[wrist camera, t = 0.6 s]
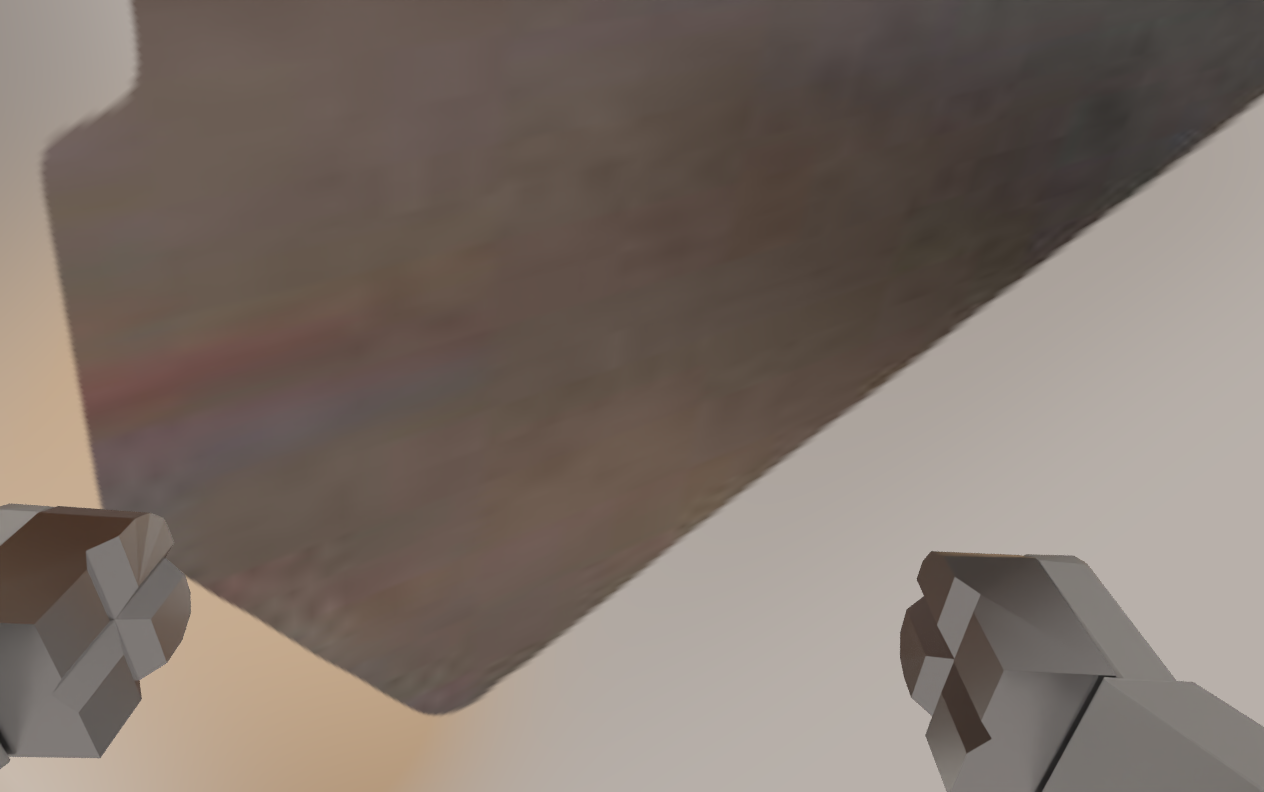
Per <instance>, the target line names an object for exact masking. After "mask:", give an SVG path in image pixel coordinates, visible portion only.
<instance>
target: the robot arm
mask: <svg viewBox="0 0 1264 792" xmlns="http://www.w3.org/2000/svg"><path fill="white" fill-rule="evenodd" d="M173 544H174V541H173V538H172V536H171V533H170V531H169V528H168V526H167V523H166V521H165V519H164V518H162V517H159V516H157V515H154V514H152V513H146V512H132V511H118V510H105V509H91V508H76V507H63V506H57V507H49V506H37V505H23V504H7V505H3V506H0V769H1V768H2V767H3V766H5V765H6V764H8V763H9V761H10V759H9V757H63V758H64V757H65V758H101V756H102V755H103V753H104V752H105V751H106V749H107V748H108V746H109V745H110V743H111V742H112V741H113V739H114V738H115V736H116V735H117V733H118V732H119V731H120V729H121V728H122V726H123V725H124V724H125V722H126V721H127V719H128V718H129V717H130V715H131V714H132V712H133V711H134V709H135V708H136V707H137V705H138V704H139V702H140V701H141V699H142V698H141V690H140V681H139V680H140V679H142V678H143V677H145V676H147V675H148V674H150V673H152V672H153V671H155V670H156V669H158V668H160V667H161V666H163V665H164V664H166V663H167V662H168V661H169V659H170V658H171V656H172V655H173V653H174V651H175V650H176V649H177V647H178V646H179V644H180V643H181V641H182V639H183V636H184V633H185V630H186V626H187V623H188V620H189V617H190V613H191V601H190V589H189V586H188V583H187V580H186V577H185V574H184V573H182V572H181V571H180V570H179V569H178V568H176V567H175V566H174V565H173V564H172V563H171V562H169V561H168V560H167V559H166V558H165V557H166V556H167V554H168V552H169V551H170V549H171V548H172V546H173ZM917 581H918V583H919V585H920V588H921V590H922V592H923V594H924V597H922V598H921V599H920V600H918V601H917V602H916V603H914V604H913V605H912V606H911V607H909V608H908V609H907V610H906V614H905V618H904V621H903V625H902V628H901V632H900V659H901V664H902V669H903V674H904V678H905V681H906V684H907V687H908V690H909V692H910V695H911V698H912V699H914V700H915V701H916V702H917V703H918V704H919V705H920V706H921V707H923V708H924V709H925V710H926V711H927V712H928V713H929V714H930V715H931V716H932V719H931V721H930V724H929V727H928V730H927V732H926V738H927V741H928V744H929V746H930V749H931V751H932V754H933V757H934V759H935V762H936V765H937V767H938V770H939V772H940V775H941V778H942V780H943V783H944V786H945V788H946V791H947V792H1264V727H1263V726H1261V725H1260V724H1258V723H1257V722H1255V721H1254V720H1252V719H1250V718H1249V717H1247V716H1246V715H1244V714H1243V713H1241V712H1239V711H1238V710H1236V709H1235V708H1233V707H1232V706H1230V705H1228V704H1227V703H1225V702H1224V701H1222V700H1221V699H1219V698H1217V697H1216V696H1214V695H1213V694H1211V693H1209V692H1208V691H1206V690H1205V689H1203V688H1202V687H1200V686H1199V685H1197V684H1195V683H1193V682H1183V681H1176V679H1175V678H1174V677H1173V675H1172V674H1171V673H1170V671H1169V670H1168V669H1167V668H1166V666H1165V665H1164V664H1163V662H1162V661H1161V660H1160V658H1159V657H1158V656H1157V655H1156V653H1155V652H1154V651H1153V649H1152V648H1151V647H1150V645H1149V644H1148V643H1147V641H1146V640H1145V639H1144V638H1143V636H1142V635H1141V634H1140V632H1139V631H1138V630H1137V628H1136V627H1135V626H1134V625H1133V623H1132V622H1131V620H1130V619H1129V618H1128V617H1127V615H1126V614H1125V613H1124V611H1123V610H1122V609H1121V607H1120V606H1119V605H1118V603H1117V602H1116V601H1115V600H1114V598H1113V597H1112V596H1111V594H1110V593H1109V592H1108V591H1107V589H1106V588H1105V587H1104V585H1103V584H1102V583H1101V581H1100V580H1099V579H1098V577H1097V576H1096V575H1095V573H1094V572H1093V571H1092V570H1091V568H1090V567H1089V566H1088V565H1087V564H1086V563H1085V562H1083V561H1082V560H1080V559H1078V558H1077V557H1075V556H1064V555H1030V554H1027V555H1024V556H1021V555H1005V554H982V553H981V554H980V553H959V552H958V553H957V552H934V551H931V552H930V553H929V554H928V556H927V557H926V558H925V559H924V560H923V562H922V565H921V568H920V571H919V574H918V577H917Z"/></svg>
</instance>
